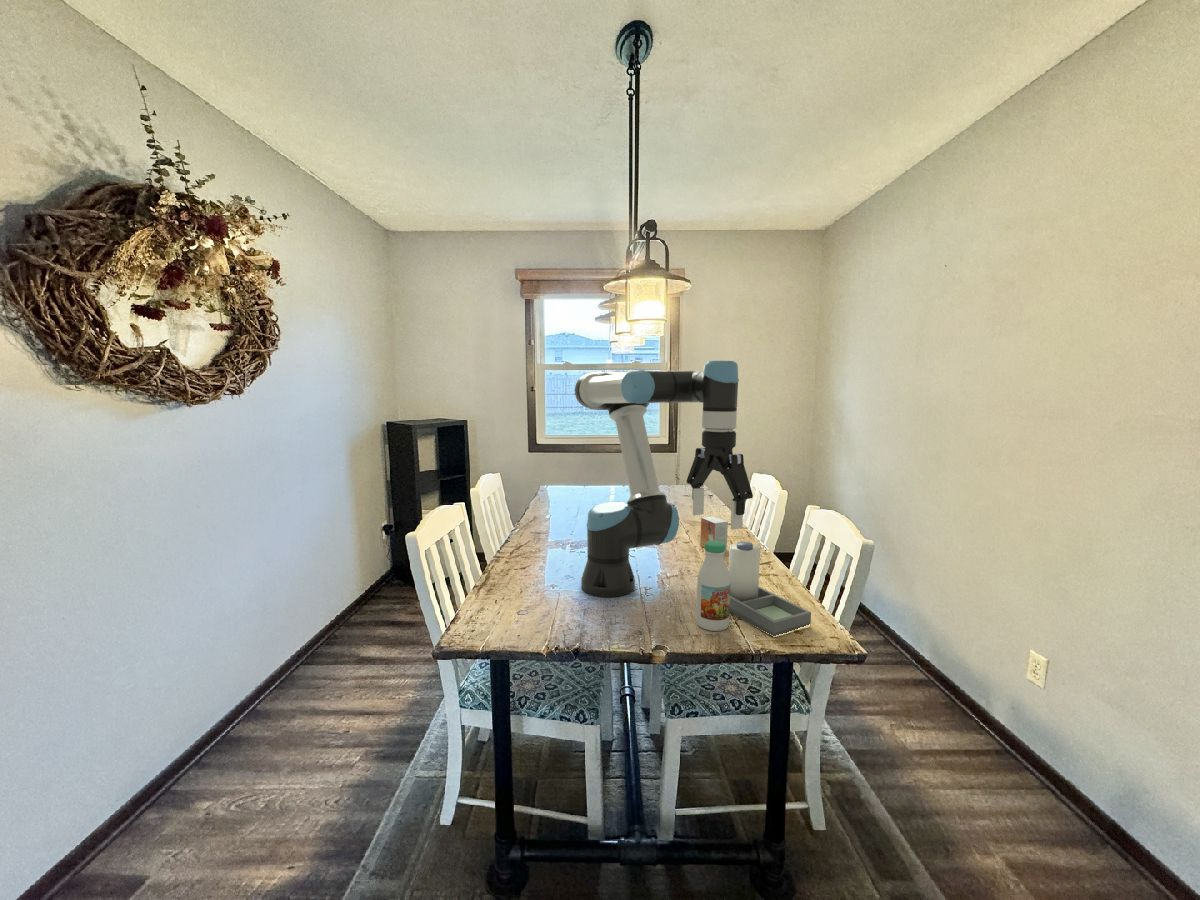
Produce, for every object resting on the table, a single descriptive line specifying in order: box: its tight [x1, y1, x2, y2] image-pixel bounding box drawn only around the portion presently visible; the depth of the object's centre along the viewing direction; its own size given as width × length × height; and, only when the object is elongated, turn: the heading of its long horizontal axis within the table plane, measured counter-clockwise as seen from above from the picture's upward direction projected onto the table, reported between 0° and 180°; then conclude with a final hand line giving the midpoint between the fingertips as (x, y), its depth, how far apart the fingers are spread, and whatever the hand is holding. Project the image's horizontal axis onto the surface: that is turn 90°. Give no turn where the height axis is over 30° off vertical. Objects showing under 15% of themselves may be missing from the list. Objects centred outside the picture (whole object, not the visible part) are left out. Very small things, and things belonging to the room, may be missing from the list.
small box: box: [699, 515, 729, 552], centre depth 174 cm, size 8×6×10 cm
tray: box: [730, 586, 812, 636], centre depth 126 cm, size 12×22×4 cm, turn 27°
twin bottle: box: [728, 541, 761, 602], centre depth 130 cm, size 8×8×15 cm
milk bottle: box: [695, 541, 731, 632], centre depth 119 cm, size 8×8×20 cm
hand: (716, 521), depth 116 cm, fingers open, 13 cm apart
